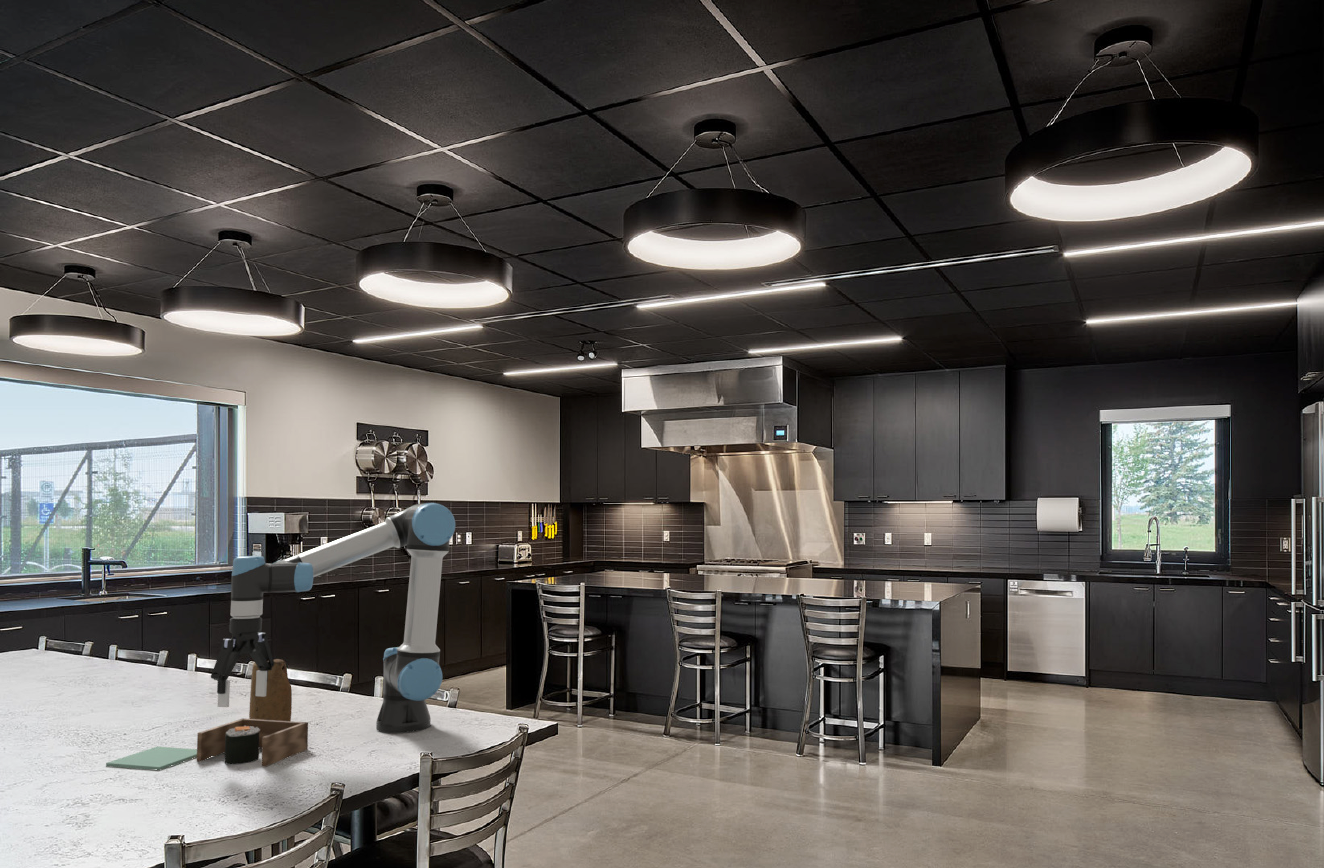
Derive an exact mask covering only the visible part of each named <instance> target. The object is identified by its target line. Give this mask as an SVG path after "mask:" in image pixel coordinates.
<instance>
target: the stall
mask: <svg viewBox="0 0 1324 868" xmlns="http://www.w3.org/2000/svg"><path fill="white" fill-rule="evenodd" d="M244 725H245V726H249V727H250V726H253V727H254V728H256V727H258V728H259V729H260V731H259V747H260V748H259V749H261V767H268V766H270V765H273V764H275V763H276V764H277V763H279V762H280V761H283V760H286V759H288V758H290V757H289V756H291V757H292V756H294V755H297V753H298V754H300V753H303V752H305V751H308V744H309V742H308V740H309V739H308V738H309V722H305V721H276V720H260V719H249V718H240V719H237V720H234V721H229V722H227V723H225V724H221V725H218V726H215V727H212V728H208V729H206V730H201V731H199V732H197V737H196V738H197V740H196V742H197V743H196V749H197V757H196V762H199V761H201V762H204V761H206V760H208V759H207V758H209V757H211V756H215V757H217V756H220V755H222V754H221V753H223V752H225V733H226V732H228V730H229V729H234V728H235V727H244ZM299 752H300V753H299ZM219 754H220V755H219ZM223 754H224V753H223ZM216 755H217V756H216ZM287 757H288V758H287ZM285 758H286V759H285ZM205 759H206V760H205ZM209 759H210V758H209ZM203 760H204V761H203Z"/></svg>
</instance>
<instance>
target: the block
mask: <svg viewBox="0 0 1324 868" xmlns="http://www.w3.org/2000/svg"><path fill="white" fill-rule="evenodd" d="M273 660H274V666H273V667H272V670H268V681H267V689H266V696H265V697H261V696H255V695H256V671H258V670H260V669H259V668H258V666H257V665H256V663H255V662H254V663H253V664H252V670H251V678H250V679H251V680H250V692H249V693H250V697H249V713H248V714H249V715H248V717H249V718H248V719H260V720H276V721H291V720H292V707H293V706H292V705H293V704H292V703H293V702H292V701H293V698H292V697H293V695H292V685H291V682H290V681H289V677H288V670H287V664H286V661H285V660H283V659H279V658H276V659H273ZM268 662H269V661H268Z"/></svg>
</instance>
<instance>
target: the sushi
mask: <svg viewBox="0 0 1324 868" xmlns="http://www.w3.org/2000/svg"><path fill="white" fill-rule="evenodd" d="M259 731H260V729H259V728H258V727H256V728H254V727H253V726H250V727H249V726H245V725H244V727H235V728H234V729H229V730H228V732H226V733H225V753H224V764H226V763H227V764H226V765H239V764H246V763H252V762H255V761H257V760H259V757H260V755H259V754H260V748H259Z"/></svg>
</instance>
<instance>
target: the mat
mask: <svg viewBox="0 0 1324 868" xmlns="http://www.w3.org/2000/svg"><path fill="white" fill-rule="evenodd" d="M194 757H196V758H197V748H196V749H195V748H186V747H185V748H183V747H182V748H181V747H168V746H154V747H151V748H149V749H145V750H142V751H139V752H136V753H133V754H130V755H129V754H128V755H126V756H123V757H120V758H117V759H114V760H110V761H108V762H105V766H106V767H109V766H113V768H121V767H124V768H123V769H135V770H146V769H157V770H156V771H158V770H159V771H161V770H160V769H162V770H164V768H165V769H167V768H166V767H168V768H170V767H169V766H171V765H174V766H176V765H179V764H182V763H184V762H183V761H185V762H186V761H187V762H188V761H191V760H192V758H193V759H195V758H194ZM181 762H182V763H181ZM178 763H179V764H178ZM171 767H172V766H171Z"/></svg>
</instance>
